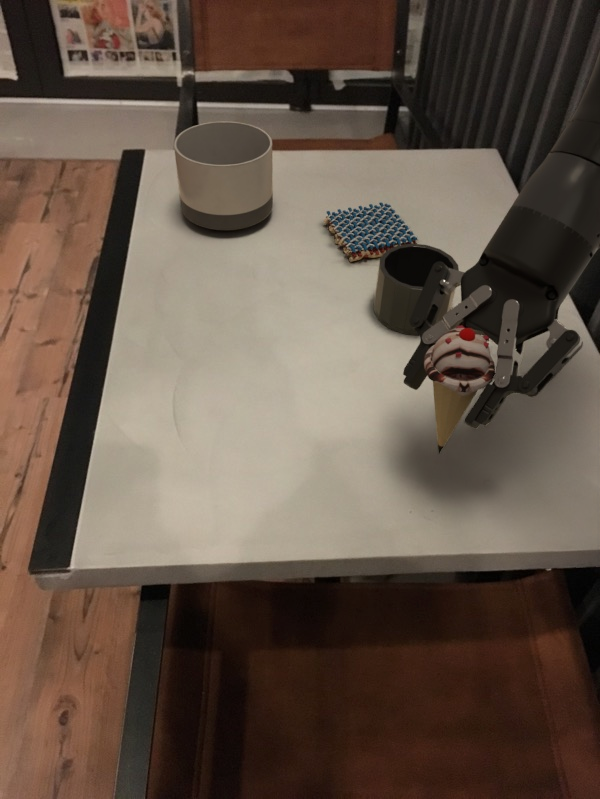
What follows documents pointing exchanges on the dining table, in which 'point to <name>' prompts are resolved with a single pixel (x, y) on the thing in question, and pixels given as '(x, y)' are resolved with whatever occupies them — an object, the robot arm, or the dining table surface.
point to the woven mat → (369, 231)
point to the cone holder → (407, 284)
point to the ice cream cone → (457, 375)
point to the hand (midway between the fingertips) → (439, 405)
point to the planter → (224, 174)
